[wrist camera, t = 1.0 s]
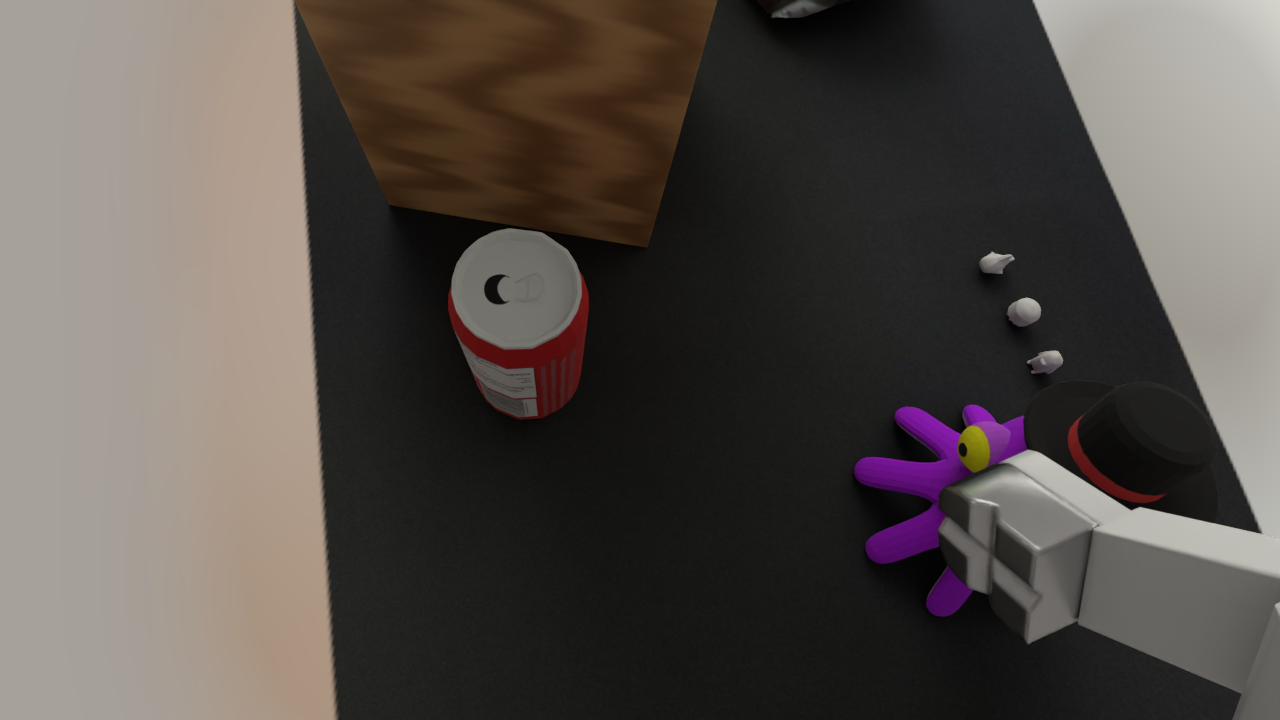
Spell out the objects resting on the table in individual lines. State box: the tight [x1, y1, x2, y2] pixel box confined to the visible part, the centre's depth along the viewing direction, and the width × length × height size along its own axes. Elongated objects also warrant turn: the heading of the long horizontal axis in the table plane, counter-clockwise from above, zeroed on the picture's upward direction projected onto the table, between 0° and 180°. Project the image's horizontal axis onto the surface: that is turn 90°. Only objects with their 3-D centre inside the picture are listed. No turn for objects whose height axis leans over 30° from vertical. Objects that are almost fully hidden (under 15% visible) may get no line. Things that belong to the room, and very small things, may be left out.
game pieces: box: [979, 252, 1063, 374], centre depth 40 cm, size 8×2×2 cm, turn 15°
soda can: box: [448, 228, 589, 420], centre depth 31 cm, size 6×6×12 cm
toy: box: [854, 380, 1220, 617], centre depth 30 cm, size 11×11×15 cm
